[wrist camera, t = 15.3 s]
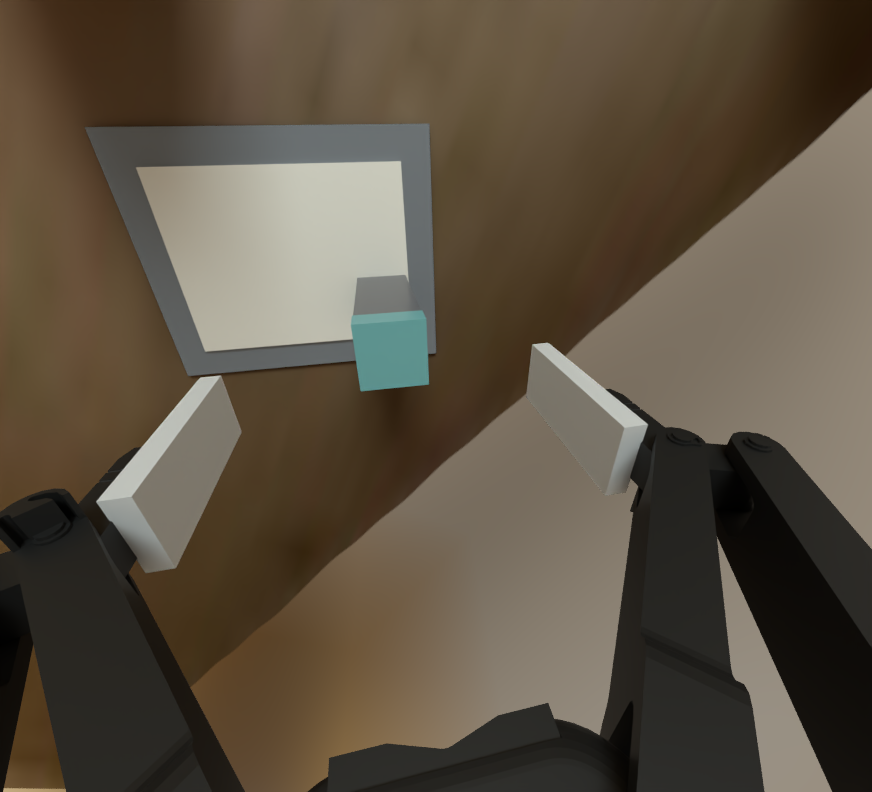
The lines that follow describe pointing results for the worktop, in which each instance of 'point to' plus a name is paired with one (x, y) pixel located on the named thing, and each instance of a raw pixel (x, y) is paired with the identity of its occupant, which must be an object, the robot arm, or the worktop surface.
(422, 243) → the paper
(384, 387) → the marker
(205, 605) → the worktop surface
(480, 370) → the worktop surface
